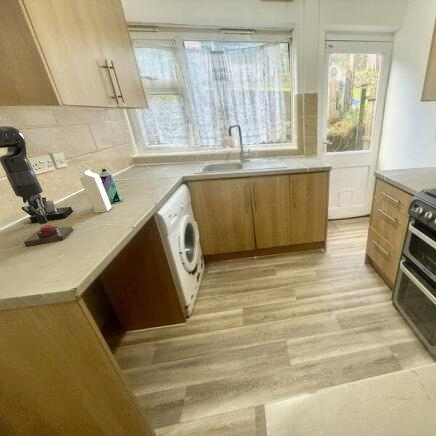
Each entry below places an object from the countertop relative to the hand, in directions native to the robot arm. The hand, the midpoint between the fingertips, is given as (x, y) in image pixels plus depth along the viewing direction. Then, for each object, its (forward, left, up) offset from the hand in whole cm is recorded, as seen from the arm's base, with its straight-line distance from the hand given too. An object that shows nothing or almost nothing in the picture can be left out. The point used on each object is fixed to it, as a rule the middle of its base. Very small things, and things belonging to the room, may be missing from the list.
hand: (44, 223), depth 100 cm
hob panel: (-10, +29, -7) cm, 31 cm away
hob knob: (-10, +29, -4) cm, 31 cm away
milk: (+12, +28, -7) cm, 31 cm away
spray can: (+15, +41, -7) cm, 44 cm away
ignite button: (0, 0, -3) cm, 3 cm away
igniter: (0, 0, -7) cm, 7 cm away
